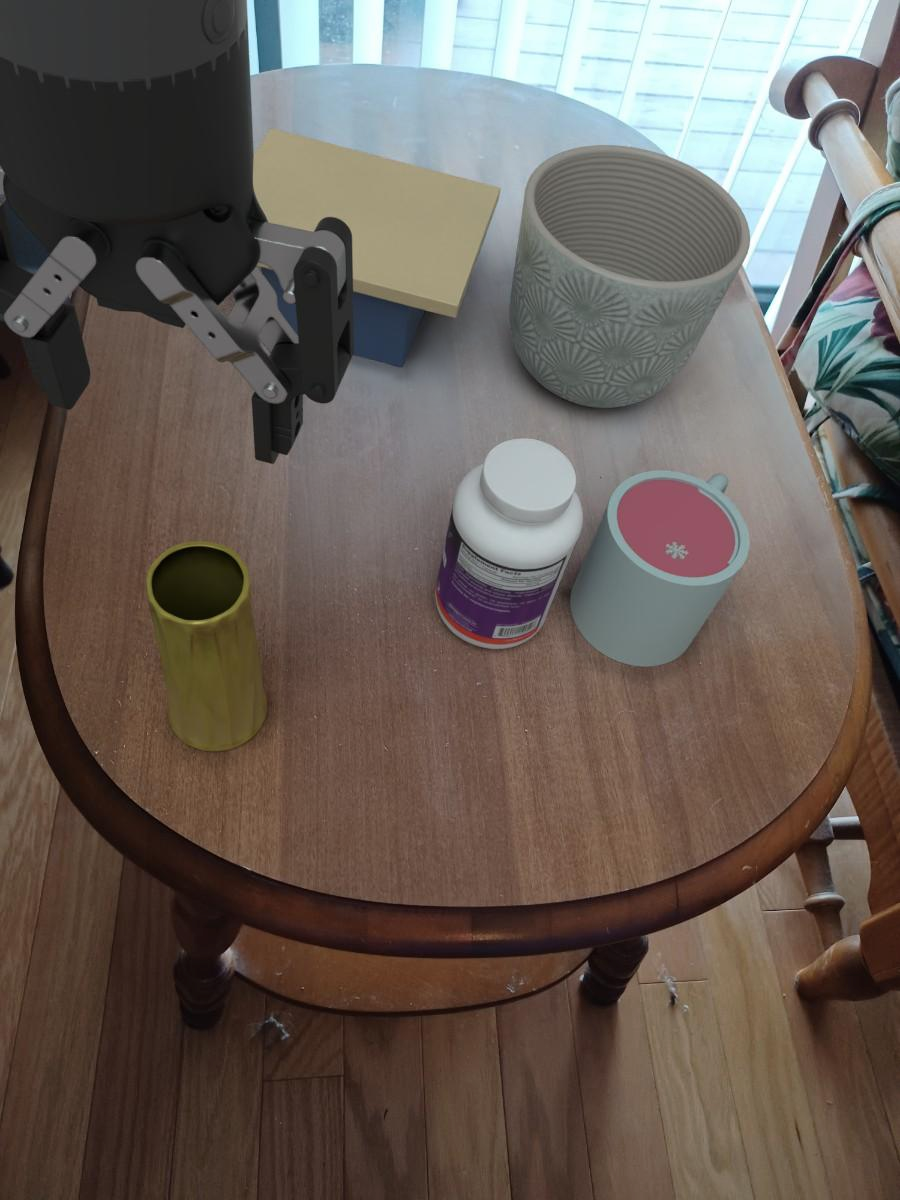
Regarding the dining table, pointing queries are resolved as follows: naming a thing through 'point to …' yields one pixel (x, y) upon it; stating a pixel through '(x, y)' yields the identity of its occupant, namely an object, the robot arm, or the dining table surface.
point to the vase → (207, 644)
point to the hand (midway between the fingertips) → (171, 420)
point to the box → (378, 232)
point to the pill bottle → (508, 544)
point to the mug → (658, 566)
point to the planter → (619, 271)
